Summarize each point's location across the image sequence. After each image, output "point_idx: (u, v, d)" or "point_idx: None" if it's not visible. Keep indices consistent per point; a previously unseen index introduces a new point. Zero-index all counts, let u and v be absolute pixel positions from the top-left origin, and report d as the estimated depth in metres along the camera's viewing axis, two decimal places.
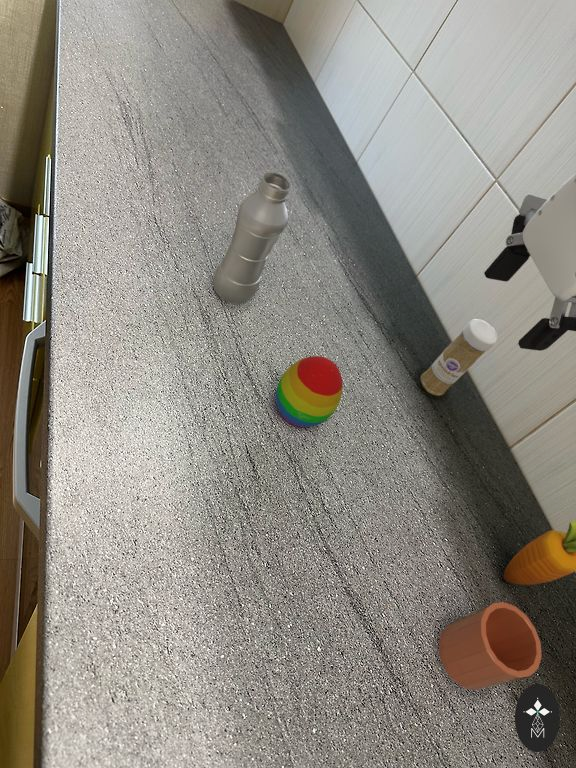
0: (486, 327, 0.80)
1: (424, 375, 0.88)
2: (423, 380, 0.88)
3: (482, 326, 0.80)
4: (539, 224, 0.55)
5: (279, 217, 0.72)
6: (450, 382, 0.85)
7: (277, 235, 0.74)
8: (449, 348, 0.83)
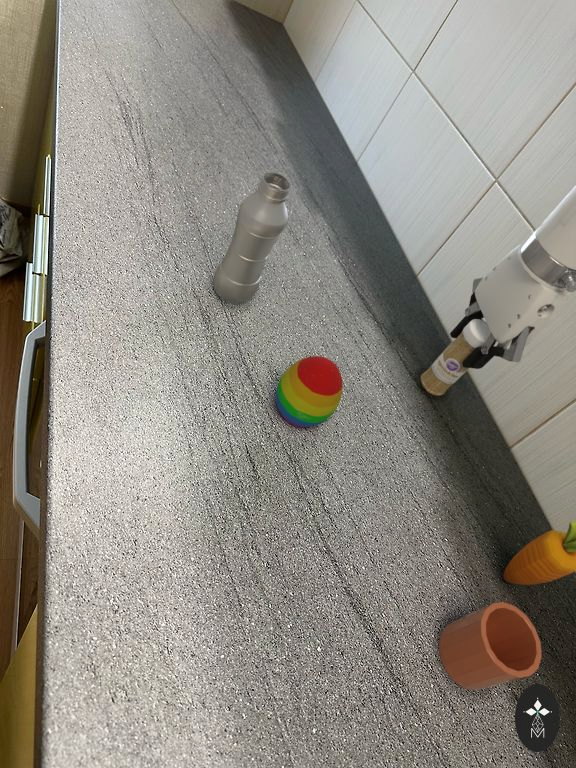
0: (486, 327, 0.80)
1: (424, 375, 0.88)
2: (423, 380, 0.88)
3: (482, 326, 0.80)
4: (485, 287, 0.76)
5: (279, 217, 0.72)
6: (450, 382, 0.85)
7: (277, 235, 0.74)
8: (449, 348, 0.83)
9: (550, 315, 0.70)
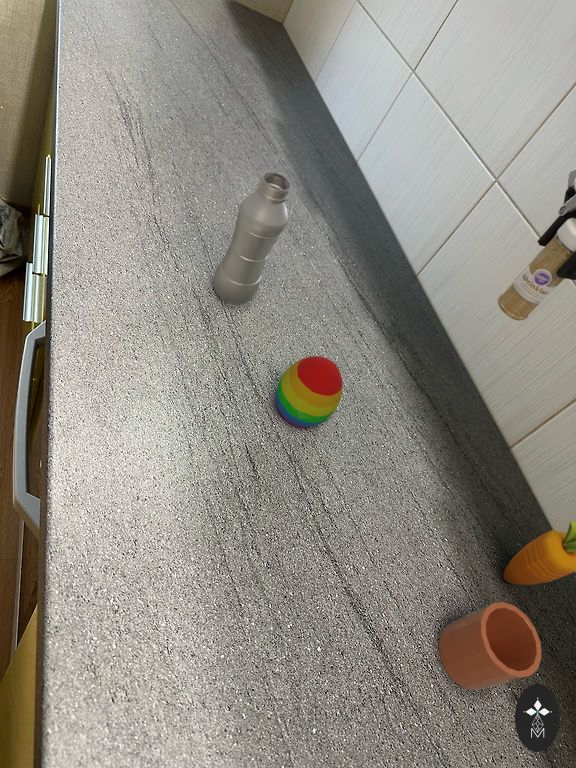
0: None
1: (503, 296, 0.74)
2: (502, 302, 0.74)
3: None
4: None
5: (279, 217, 0.72)
6: (537, 301, 0.71)
7: (277, 235, 0.74)
8: (538, 257, 0.69)
9: None
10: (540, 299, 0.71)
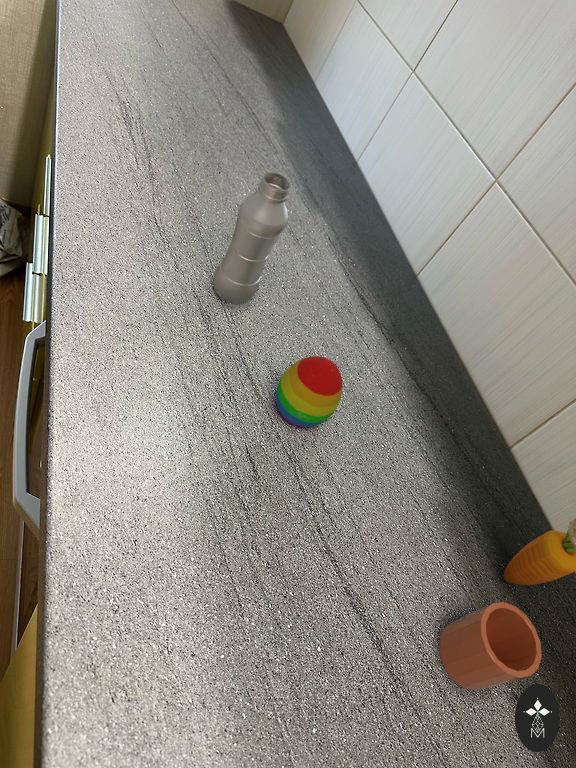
0: None
1: None
2: (575, 538, 0.52)
3: None
4: None
5: (279, 217, 0.72)
6: None
7: (277, 235, 0.74)
8: None
9: None
10: None
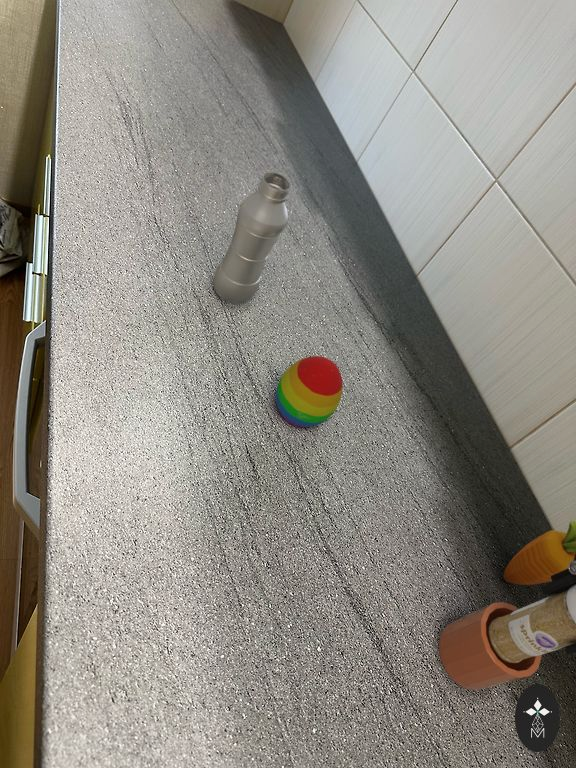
0: None
1: (495, 631, 0.58)
2: (493, 640, 0.58)
3: None
4: None
5: (279, 217, 0.72)
6: (538, 655, 0.56)
7: (277, 235, 0.74)
8: (540, 614, 0.53)
9: None
10: None
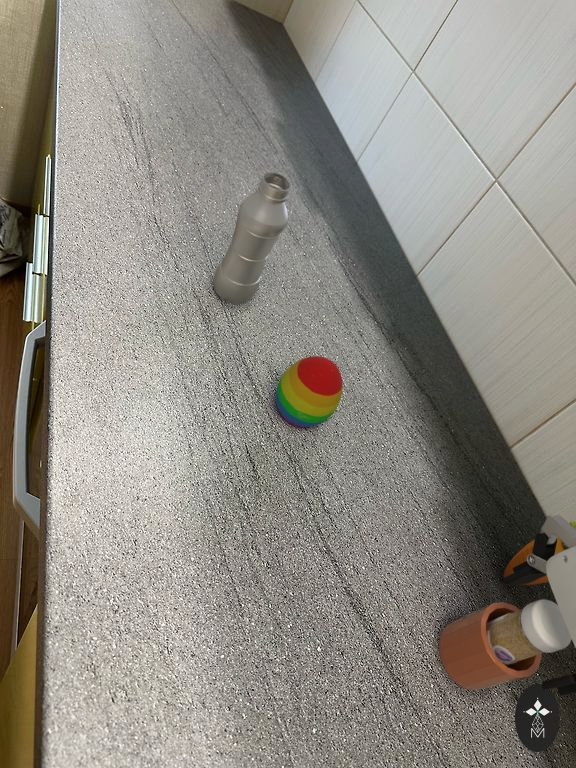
0: (555, 615, 0.55)
1: None
2: None
3: (550, 614, 0.55)
4: (565, 572, 0.51)
5: (279, 217, 0.72)
6: None
7: (277, 235, 0.74)
8: (499, 630, 0.58)
9: None
10: None
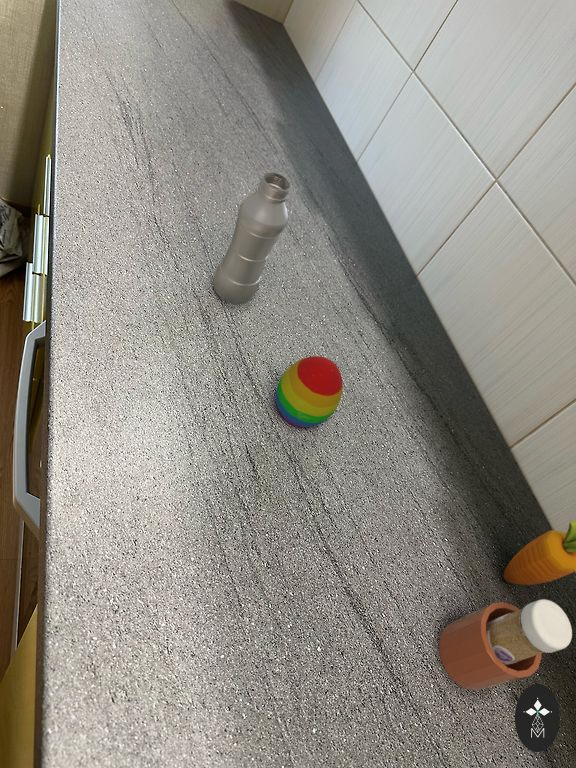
0: (555, 615, 0.55)
1: None
2: None
3: (550, 614, 0.55)
4: None
5: (279, 217, 0.72)
6: None
7: (277, 235, 0.74)
8: (499, 630, 0.58)
9: None
10: None
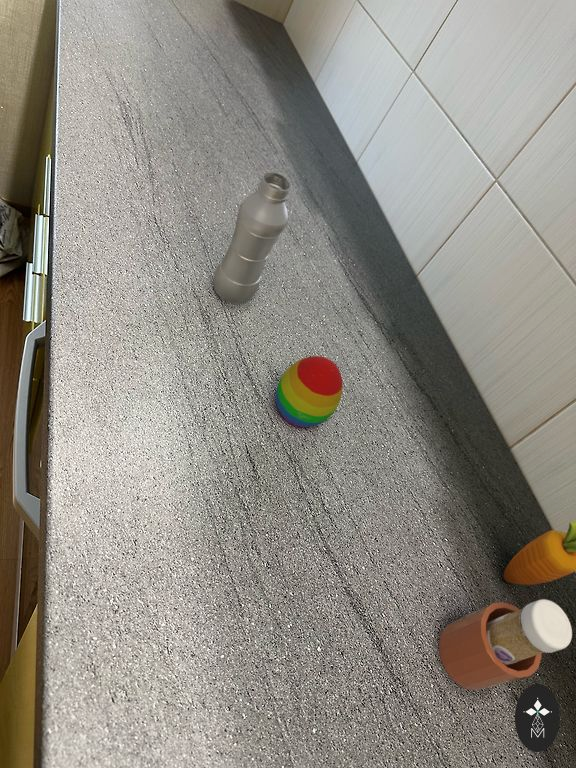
0: (555, 615, 0.55)
1: None
2: None
3: (550, 614, 0.55)
4: None
5: (279, 217, 0.72)
6: None
7: (277, 235, 0.74)
8: (499, 630, 0.58)
9: None
10: None
